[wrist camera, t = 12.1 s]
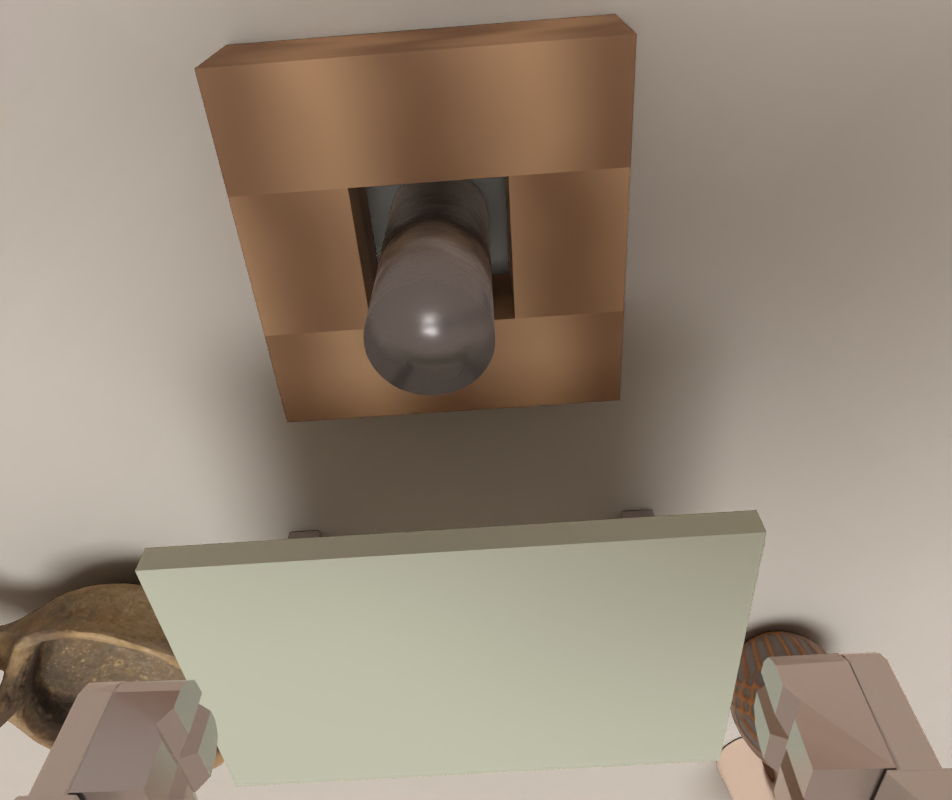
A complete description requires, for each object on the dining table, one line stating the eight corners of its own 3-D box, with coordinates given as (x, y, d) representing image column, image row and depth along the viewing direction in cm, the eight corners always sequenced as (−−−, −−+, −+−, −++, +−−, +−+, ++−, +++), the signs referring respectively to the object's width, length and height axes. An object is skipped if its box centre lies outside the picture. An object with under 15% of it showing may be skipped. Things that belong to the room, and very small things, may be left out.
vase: (793, 598, 45) (856, 736, 38) (845, 652, 48) (913, 790, 41) (693, 649, 48) (735, 787, 41) (749, 697, 51) (797, 834, 44)
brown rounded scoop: (232, 717, 51) (189, 878, 43) (-47, 639, 46) (-157, 805, 38) (309, 594, 44) (274, 759, 36) (-10, 488, 39) (-133, 650, 31)
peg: (484, 165, 30) (490, 276, 22) (491, 259, 32) (498, 391, 24) (384, 173, 30) (353, 286, 22) (397, 266, 33) (374, 399, 24)
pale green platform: (671, 327, 34) (766, 532, 24) (653, 533, 42) (719, 760, 31) (234, 357, 35) (135, 571, 24) (292, 555, 42) (236, 786, 32)
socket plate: (615, 13, 27) (636, 33, 24) (604, 350, 35) (619, 400, 32) (226, 44, 28) (194, 68, 24) (303, 370, 35) (287, 422, 32)
